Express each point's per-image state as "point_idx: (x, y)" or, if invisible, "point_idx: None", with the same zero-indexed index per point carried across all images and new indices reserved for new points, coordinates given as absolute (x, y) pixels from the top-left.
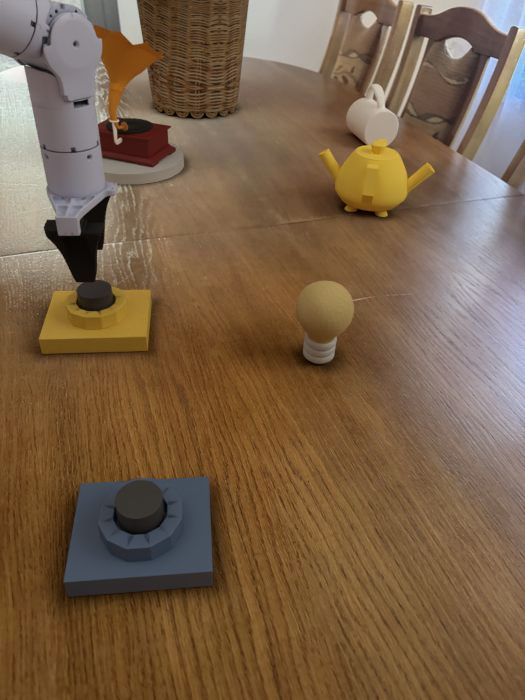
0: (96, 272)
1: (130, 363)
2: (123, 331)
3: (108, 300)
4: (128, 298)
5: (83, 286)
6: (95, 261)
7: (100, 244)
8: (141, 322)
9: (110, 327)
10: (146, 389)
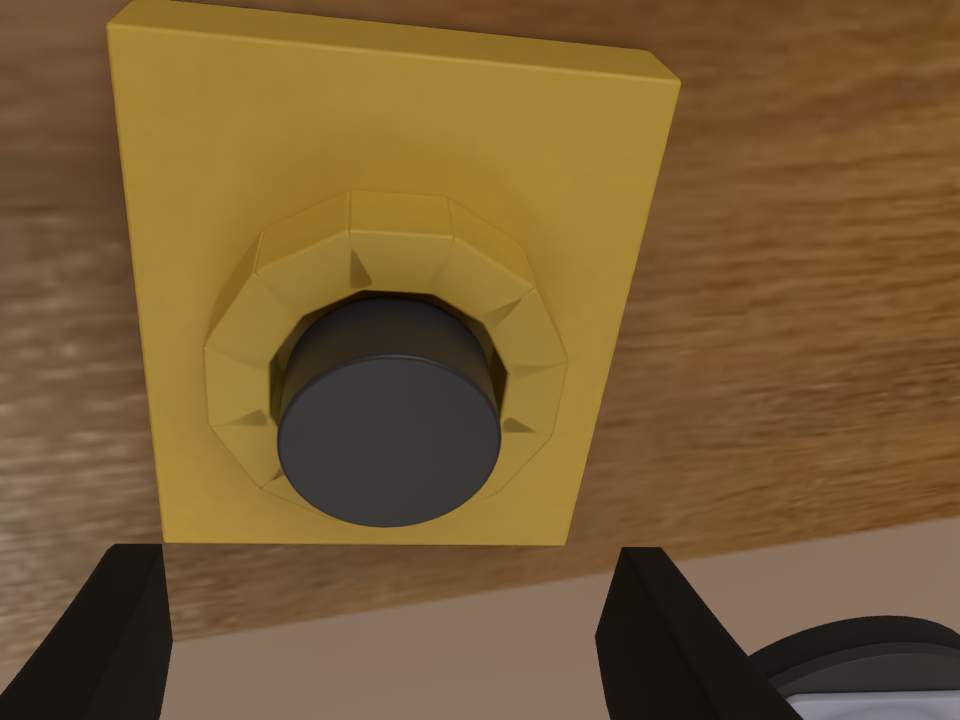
0: (676, 590)
1: (719, 145)
2: (597, 211)
3: (459, 345)
4: (237, 183)
5: (360, 501)
6: (780, 694)
7: (152, 593)
8: (530, 105)
9: (545, 279)
10: (941, 71)
